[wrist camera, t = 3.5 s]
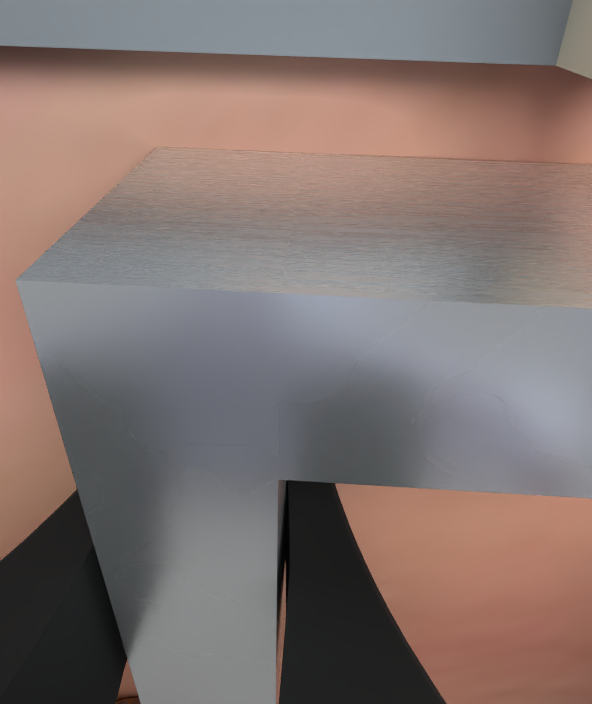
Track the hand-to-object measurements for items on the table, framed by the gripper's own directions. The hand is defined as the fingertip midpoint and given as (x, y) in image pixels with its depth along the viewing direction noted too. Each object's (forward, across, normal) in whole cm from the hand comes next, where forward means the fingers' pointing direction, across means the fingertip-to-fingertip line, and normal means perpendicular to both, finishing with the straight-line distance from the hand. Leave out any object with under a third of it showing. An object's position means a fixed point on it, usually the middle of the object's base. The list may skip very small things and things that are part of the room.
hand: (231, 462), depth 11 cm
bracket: (+1, -2, -1) cm, 3 cm away
